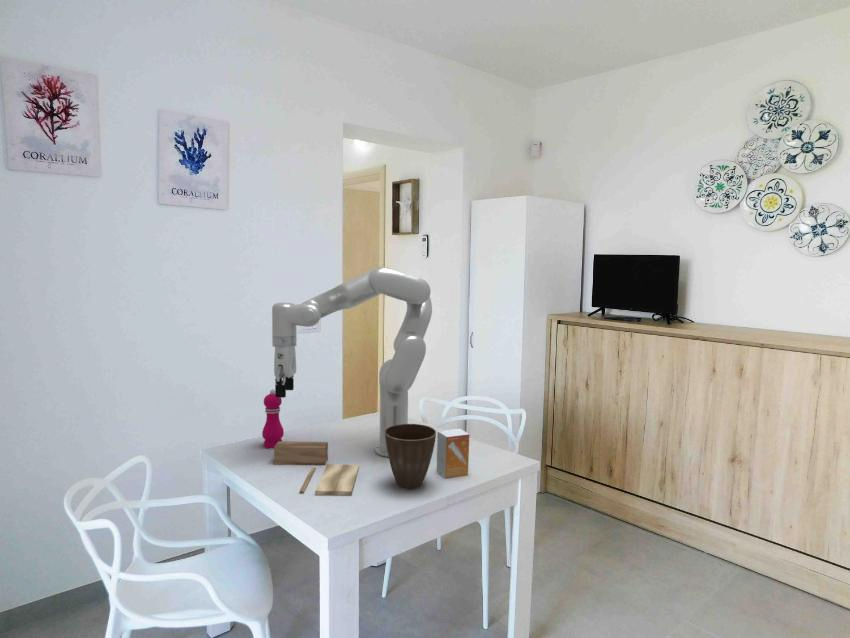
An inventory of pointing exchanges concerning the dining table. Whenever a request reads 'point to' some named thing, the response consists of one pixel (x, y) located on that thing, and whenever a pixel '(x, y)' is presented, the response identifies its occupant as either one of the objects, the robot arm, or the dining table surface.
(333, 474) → the board
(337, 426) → the dining table surface
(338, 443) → the dining table surface
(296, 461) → the brown wooden block
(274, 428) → the pepper mill
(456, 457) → the small box
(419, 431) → the plant pot
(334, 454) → the dining table surface
